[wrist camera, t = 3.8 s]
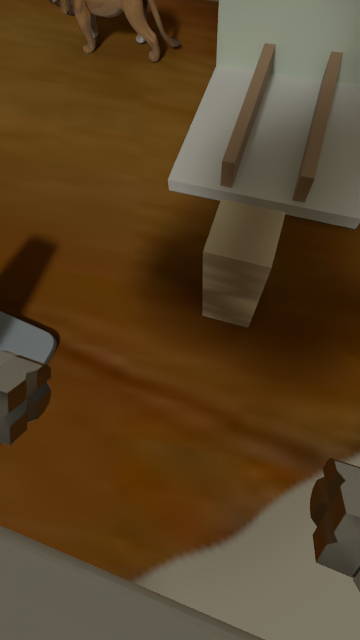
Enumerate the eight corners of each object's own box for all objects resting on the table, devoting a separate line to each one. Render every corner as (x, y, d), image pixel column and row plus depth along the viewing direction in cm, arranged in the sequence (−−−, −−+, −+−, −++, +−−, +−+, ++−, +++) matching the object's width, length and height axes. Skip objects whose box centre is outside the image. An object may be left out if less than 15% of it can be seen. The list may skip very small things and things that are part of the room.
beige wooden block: (202, 315, 24) (203, 251, 17) (216, 271, 26) (223, 193, 18) (248, 327, 24) (271, 268, 16) (260, 282, 25) (287, 206, 17)
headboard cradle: (169, 190, 29) (139, -55, 15) (226, 52, 36) (243, -208, 22) (355, 229, 26) (533, -24, 12) (380, 72, 33) (513, -208, 19)
